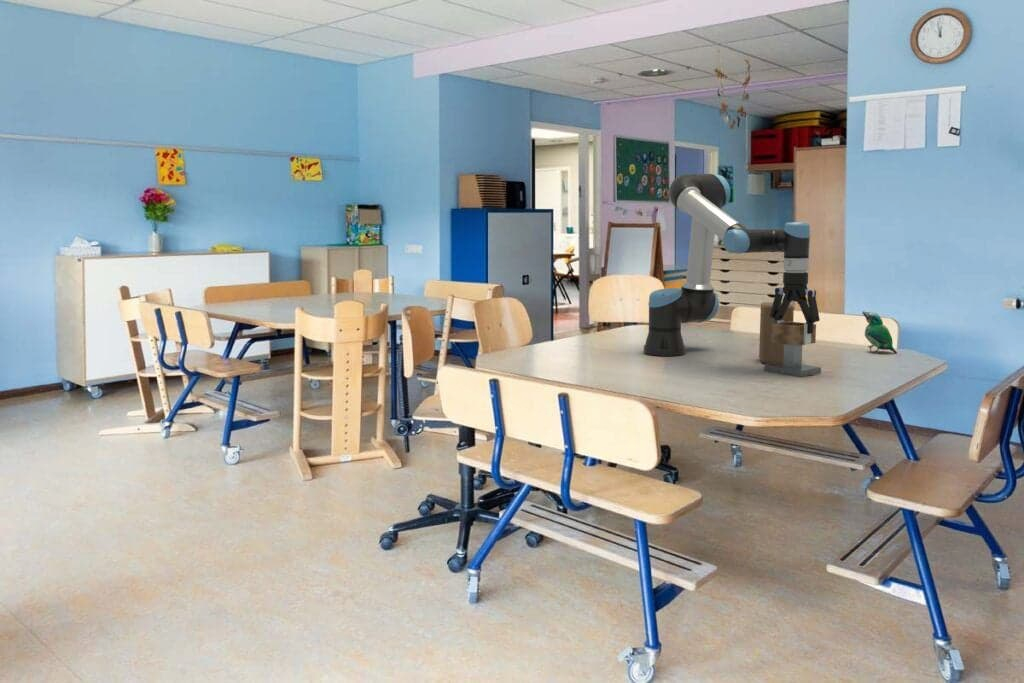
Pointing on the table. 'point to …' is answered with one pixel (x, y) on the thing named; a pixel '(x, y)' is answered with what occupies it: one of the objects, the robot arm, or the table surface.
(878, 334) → the toy
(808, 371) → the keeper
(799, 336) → the wooden cube shelf
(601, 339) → the table surface
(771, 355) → the block
